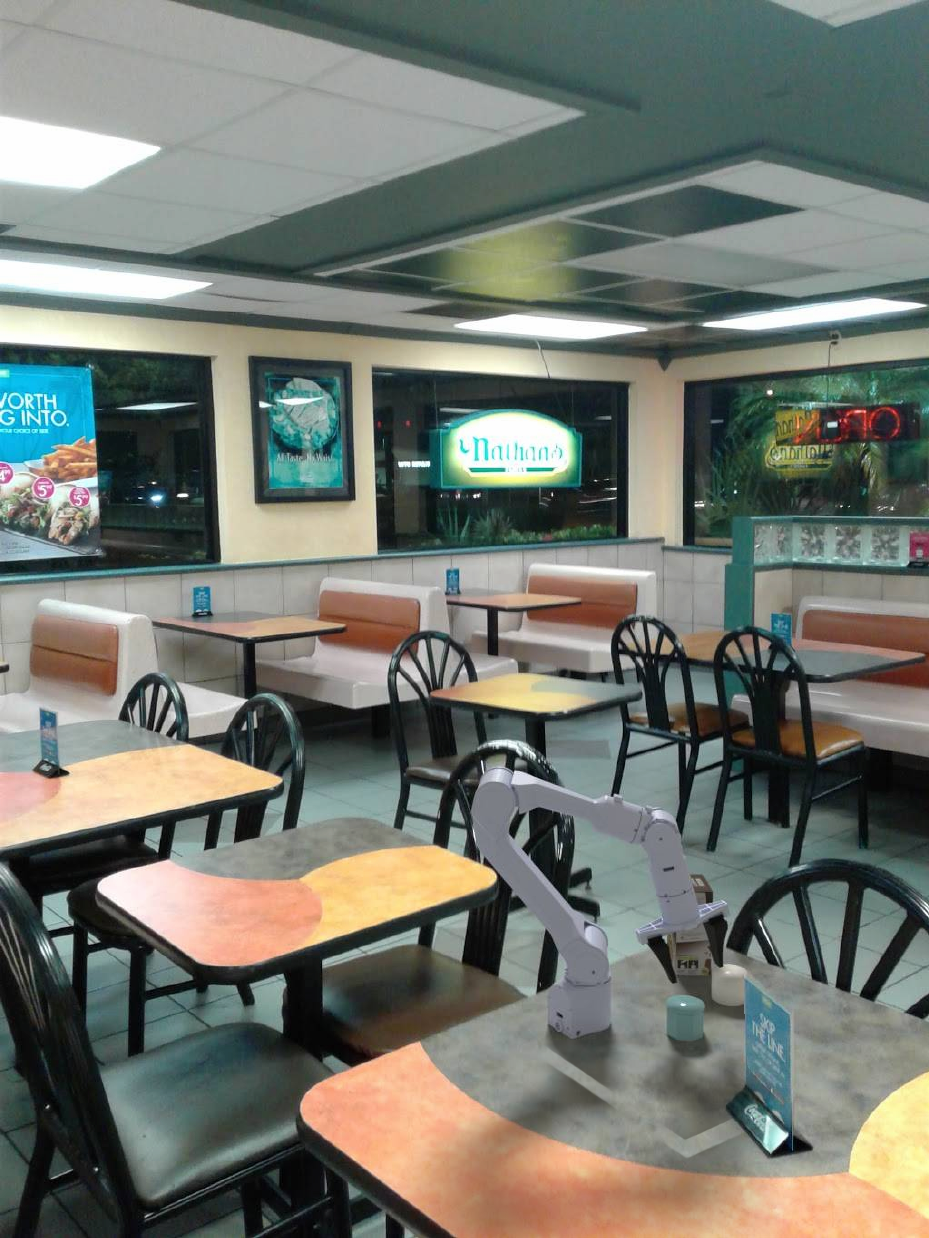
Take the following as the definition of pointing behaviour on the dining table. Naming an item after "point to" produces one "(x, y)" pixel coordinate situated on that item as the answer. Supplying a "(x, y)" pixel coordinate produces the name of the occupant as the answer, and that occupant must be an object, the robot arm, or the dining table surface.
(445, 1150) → the dining table surface
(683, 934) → the coffee box
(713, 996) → the white rounded cylinder
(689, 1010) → the teal octagonal canister
